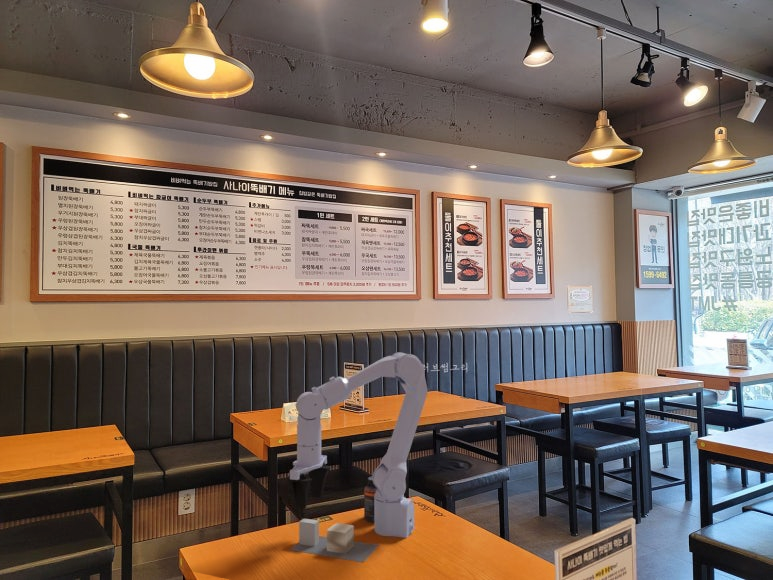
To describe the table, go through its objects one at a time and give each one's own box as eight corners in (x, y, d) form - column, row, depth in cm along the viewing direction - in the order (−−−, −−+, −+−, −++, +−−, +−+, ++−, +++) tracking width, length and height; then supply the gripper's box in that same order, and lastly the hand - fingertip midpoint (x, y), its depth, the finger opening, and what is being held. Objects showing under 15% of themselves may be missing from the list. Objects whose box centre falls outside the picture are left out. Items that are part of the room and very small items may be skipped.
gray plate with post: (379, 549, 119) (378, 522, 120) (363, 567, 111) (362, 537, 111) (309, 538, 126) (309, 513, 126) (289, 554, 117) (289, 526, 118)
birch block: (353, 545, 119) (353, 525, 119) (345, 554, 115) (345, 533, 115) (335, 543, 121) (335, 522, 121) (326, 551, 117) (326, 530, 117)
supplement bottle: (384, 527, 132) (384, 482, 133) (361, 526, 133) (361, 480, 134) (389, 519, 138) (388, 475, 139) (367, 517, 139) (367, 474, 140)
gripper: (309, 436, 133) (309, 491, 132) (278, 449, 119) (278, 510, 118) (334, 438, 130) (334, 494, 130) (305, 452, 117) (305, 514, 116)
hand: (309, 502), depth 124 cm, fingers open, 7 cm apart
